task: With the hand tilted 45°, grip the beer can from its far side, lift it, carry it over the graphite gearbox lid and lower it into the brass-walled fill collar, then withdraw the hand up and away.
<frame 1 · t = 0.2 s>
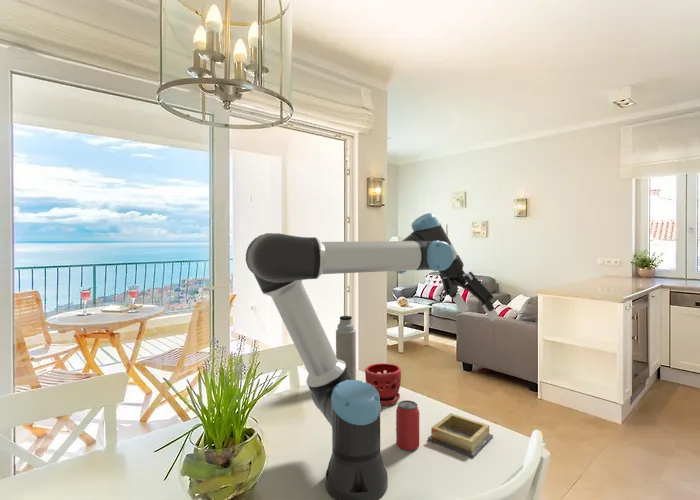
hand: (479, 314, 123), 35 cm above the table, tool tilted 35°, fingers open, 13 cm apart
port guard: (460, 439, 115), on the table
plant pot: (383, 400, 144), on the table
thermos bottle: (346, 385, 158), on the table
beer can: (407, 446, 112), on the table
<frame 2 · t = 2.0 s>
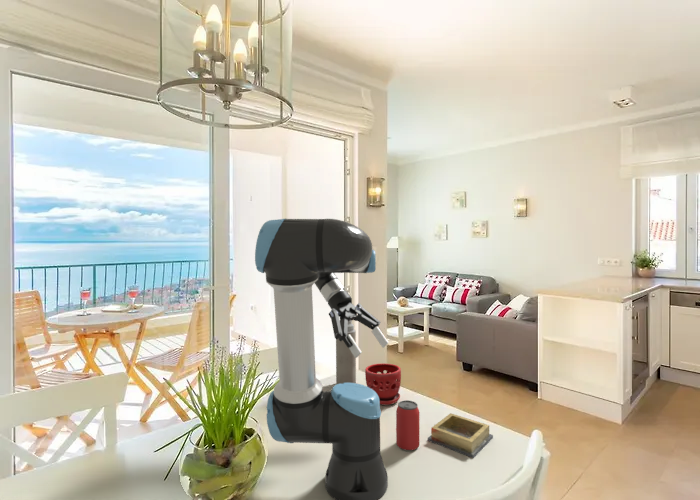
hand: (372, 350, 120), 25 cm above the table, tool tilted 45°, fingers open, 13 cm apart
nothing on the table moved.
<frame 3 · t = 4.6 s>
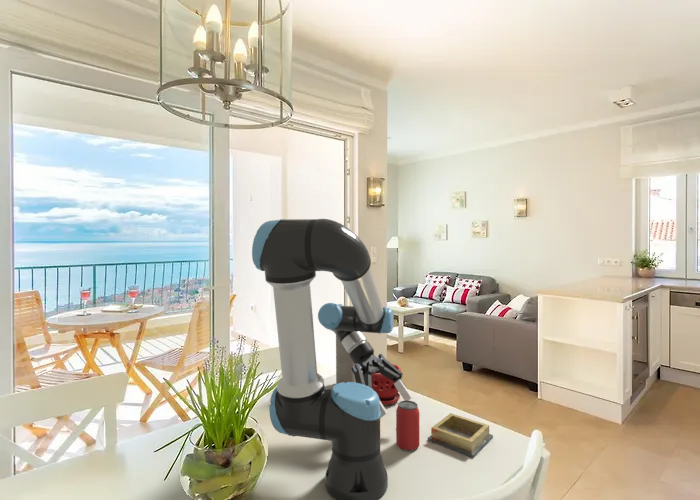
hand: (397, 407, 116), 9 cm above the table, tool tilted 45°, fingers open, 13 cm apart
nothing on the table moved.
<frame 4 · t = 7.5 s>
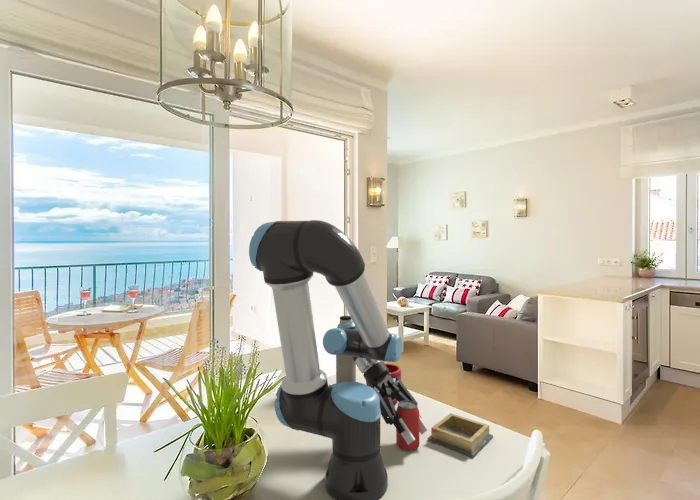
hand: (418, 436, 110), 4 cm above the table, tool tilted 45°, fingers closed on beer can, 6 cm apart
beer can: (407, 446, 112), on the table, touching gripper
everything else where it was.
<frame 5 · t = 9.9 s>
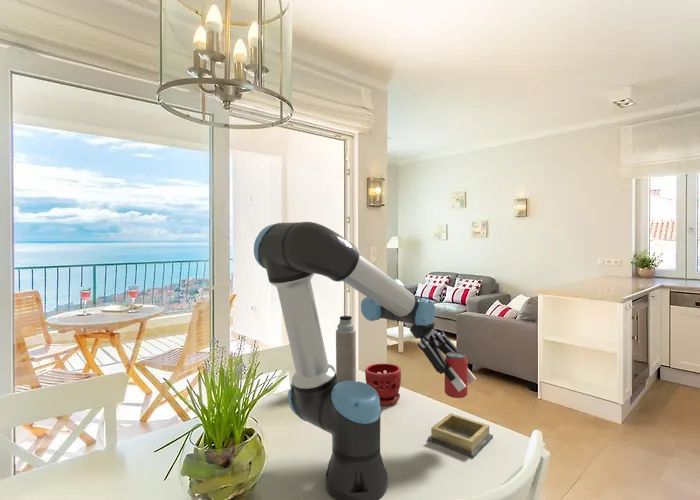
hand: (467, 385, 113), 17 cm above the table, tool tilted 45°, fingers closed on beer can, 6 cm apart
beer can: (455, 395, 116), point 13 cm above the table, touching gripper
everything else where it was.
when the fingers open (6 cm above the table, at t = 12.7 s): beer can drops 2 cm, resting on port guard.
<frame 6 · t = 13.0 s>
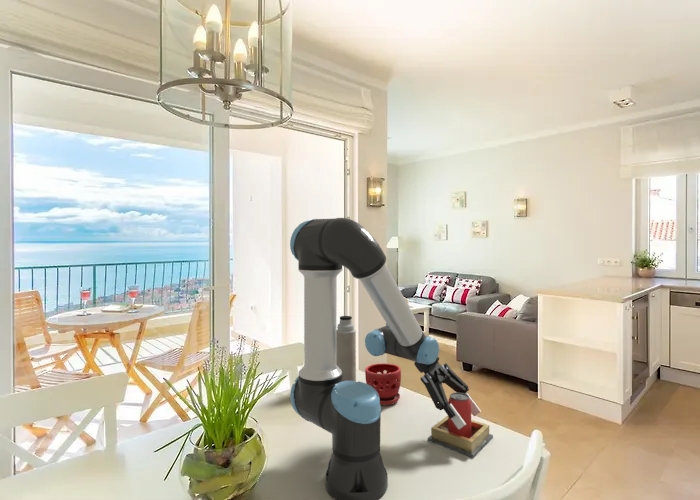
hand: (470, 420, 113), 7 cm above the table, tool tilted 45°, fingers open, 10 cm apart
beer can: (459, 436, 115), point 1 cm above the table, touching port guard
everything else where it was.
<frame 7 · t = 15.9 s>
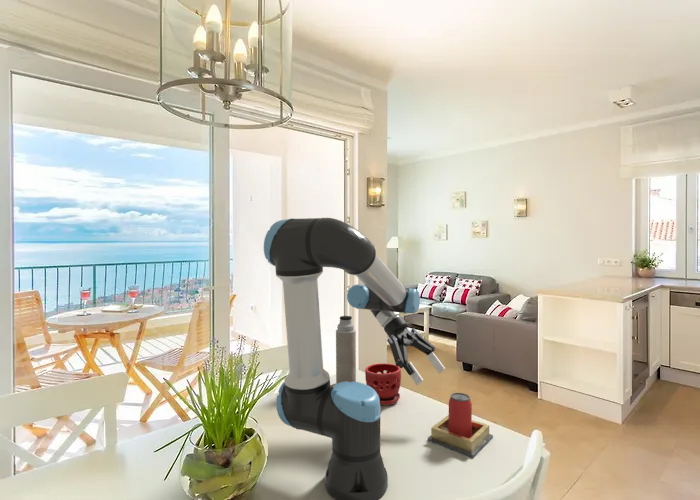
hand: (431, 376, 121), 16 cm above the table, tool tilted 45°, fingers open, 13 cm apart
nothing on the table moved.
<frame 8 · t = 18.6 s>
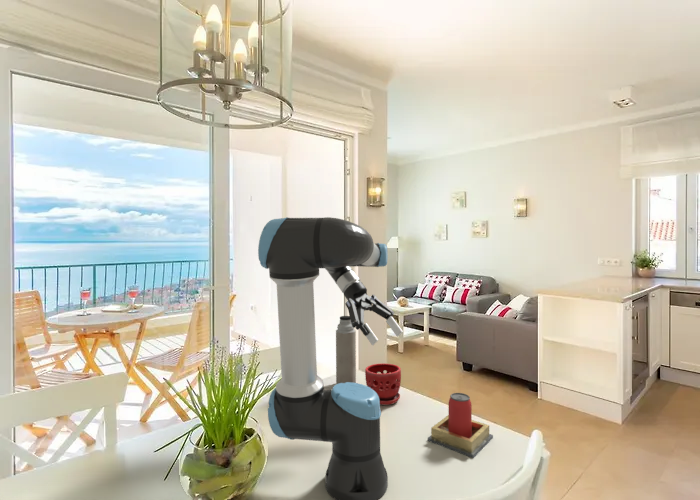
hand: (388, 338, 124), 28 cm above the table, tool tilted 45°, fingers open, 13 cm apart
nothing on the table moved.
at the end: beer can 0.1 cm off-centre on the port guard, point 0.6 cm above the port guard's base; beer can tilted 0°; the gripper is holding nothing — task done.
